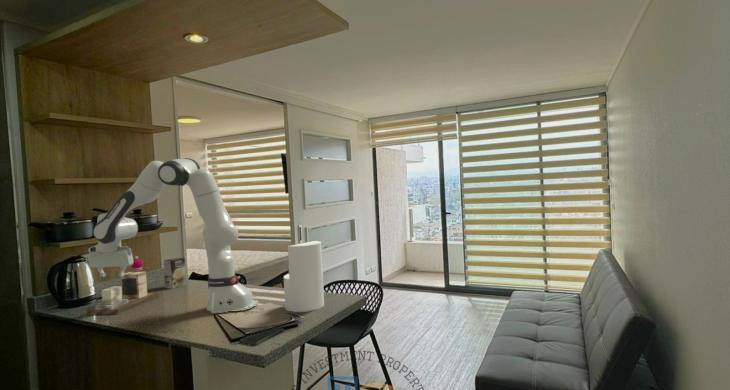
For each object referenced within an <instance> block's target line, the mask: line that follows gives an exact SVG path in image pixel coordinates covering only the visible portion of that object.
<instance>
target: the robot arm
mask: <svg viewBox="0 0 730 390" xmlns="http://www.w3.org/2000/svg"><path fill="white" fill-rule="evenodd" d="M166 185H168V186H174V187H175V186H177V187H178V186H180V187H183V186H188V188H189V189H190V192H191V193H192V197H193V199H194V202H195V205H196V206H195V207H196V209H197V211H198V214H199V216H200V217H201V219H202V220H203V222H204V224H205V226H204V228H203V229H202V237H203V241H204V247H205V251H206V256H207V265H208V267H207V268H208V278H207V286H208V288H207V289H208V299H207V306H206V311H208V312H210V313H211V314H222V313H224V312H225V313H229V312H228V311H232V310H237V309H243V308H248V307H253V306H256V305H257V306H258V305H259V300H257V299H254V297H253V292H252V290H251V289H249V288H248V287H246V286H245V285H243V284H241V283H240V282H239V280H240V278H241V276H240V275H238V276H237V274H236V273H235V257H234V255H233V251H232V248H231V246H232V245H233V244H235V243H236V242H237V241H238V238H239V231H238V230H239V229H237V227H236V226H235V225H234V222H233V220H232V218H231V216H230V215H229V213H228V210H227V209H226V207H225V204H224V201H223V198H222V195H221V192H220V190H219V189H220V188H219V186H218V183H217V181H216V180H215V178H214V176H213V174H212V172H211V171H210V170H209V169H206V168H201V166H200V164H199V163H198V161H196V160H195V159H193V158H187V157H186V158H176V159H175V158H174V159H171V160H167V161H165V162H164V161H161V160H152V161H150V162H149V163H148V164H147V165H146V166H145V167H144V168H143V170H142V171H141V173H140V174H139V175H138V177H137V179H136V181H135V182H133V184H132V186H131V187H129V188H128V189H126V191H125V192H124V193H122V194H121V195H120V197H118V199H117V200H116V201H115V202H114V204H113V205H112V206H111V207H110V209H109V210H108V212H102V213H100V214H99V215H98V216H97V219H96V220H97V222H96V224H95V226H94V227H93V232H92V233H93V237H94V238H95V240H97V244H96V245H93V246H90V247H89V248H88V249H87V251H88V257H87V259H88V266H89V267H90V268H91V269H94V268H96V270H97V272H98V273H99V277H100V278H104V277H107V273H106V272H104V268H116V267H117V268H119V269H120V272H118V277H121V276H124V274H125V273H126V272H125V271H126V269H127V267H131V265H132V264H133V263H134V262H133V260H134V257H133V253H132V248H131V247H129V246H128V245H125V246H123V245H122V241H124V240H127V239H128V240H129V239H132V238H135V237H136V236H137V234H138V232H139V225H138V223H137V221H136V220H135V219H134V218H130V217H126V215H127V214H128V213H129V212H130V211H131V210H133V209H134V208H137V207H140V206H142V205H145V204H150V203H152V202H154V201H155V200H157V199H158V197H159V196H160V195H161V194H162V192H163V191H164V189H165V187H166ZM257 306H256V307H257Z"/></svg>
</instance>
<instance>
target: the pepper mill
mask: <svg viewBox="0 0 730 390" xmlns="http://www.w3.org/2000/svg"><path fill="white" fill-rule="evenodd" d="M133 262H134V263H133V264H132V265H131V266H130V267H131V272H142V271H143V267H142V266H143V264H144V262H143V260H142V259H140V258H139V256H138V255H136V256H134V258H133Z"/></svg>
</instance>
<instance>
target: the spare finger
mask: <svg viewBox="0 0 730 390" xmlns="http://www.w3.org/2000/svg"><path fill="white" fill-rule="evenodd" d="M101 301H102V303H101V304H102V305H113V304H116V303H118V302H121V301H122V285H120V286H119V285H118V286H117V285H116V286H110V287H107V288H104V289H102V290H101Z"/></svg>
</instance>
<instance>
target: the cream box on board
mask: <svg viewBox="0 0 730 390" xmlns="http://www.w3.org/2000/svg"><path fill="white" fill-rule="evenodd" d="M120 280H121V283H120V284H121V290H122V301H121V302H118V303H116V304H113V305H102V303H99V304H97V305H95V306H94V307H92V308H91V307H90V308H88V309H86V315H119V314H121V313H123V312H126V311H128V310H131V309H133V308H135V307H137V306H140V305H142V304H144V303H147V302H149V301H151V300H153V299H156V298H158V297H159V292H148V286H147V285H148V284H147V283H148V282H147V272H146V271H141V272H133V271H128V272H124V276H120Z"/></svg>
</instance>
